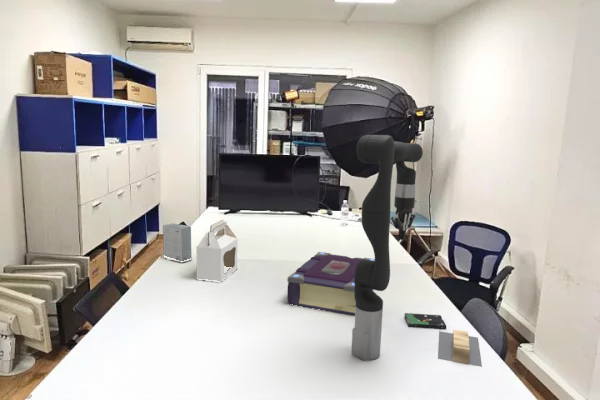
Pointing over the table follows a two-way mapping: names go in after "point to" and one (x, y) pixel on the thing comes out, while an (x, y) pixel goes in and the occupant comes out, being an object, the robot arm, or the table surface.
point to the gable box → (217, 253)
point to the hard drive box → (177, 241)
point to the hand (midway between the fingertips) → (402, 239)
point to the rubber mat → (446, 349)
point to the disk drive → (424, 321)
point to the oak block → (460, 346)
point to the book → (325, 283)
